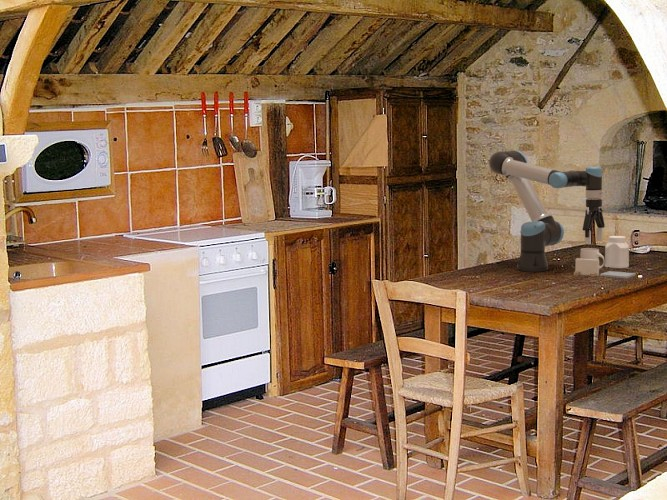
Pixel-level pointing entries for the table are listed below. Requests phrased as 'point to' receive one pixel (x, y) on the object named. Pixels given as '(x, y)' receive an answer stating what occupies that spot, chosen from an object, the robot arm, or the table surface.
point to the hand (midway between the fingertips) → (593, 242)
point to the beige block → (587, 267)
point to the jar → (617, 252)
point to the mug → (591, 254)
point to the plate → (618, 274)
